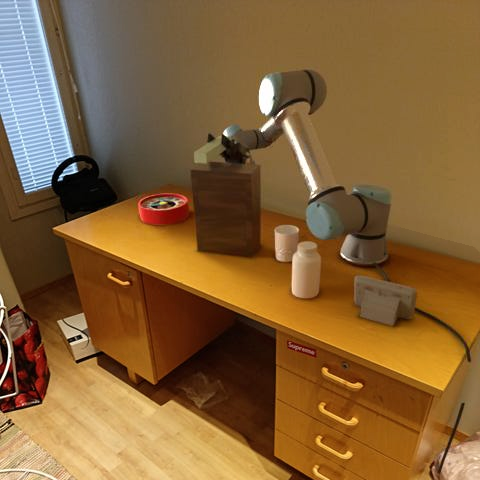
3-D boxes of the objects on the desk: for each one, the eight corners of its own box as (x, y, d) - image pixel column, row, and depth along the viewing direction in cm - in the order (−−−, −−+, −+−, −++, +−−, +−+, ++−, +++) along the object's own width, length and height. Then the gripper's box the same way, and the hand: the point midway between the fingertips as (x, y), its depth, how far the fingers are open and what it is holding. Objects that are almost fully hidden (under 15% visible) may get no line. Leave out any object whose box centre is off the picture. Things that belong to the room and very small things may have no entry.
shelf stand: (252, 258, 150) (251, 173, 134) (197, 251, 156) (190, 169, 140) (260, 245, 158) (260, 164, 142) (208, 239, 163) (202, 161, 148)
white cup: (296, 263, 146) (297, 235, 140) (272, 262, 147) (272, 233, 142) (298, 253, 152) (300, 225, 146) (275, 251, 154) (276, 224, 148)
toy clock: (192, 206, 176) (141, 213, 171) (193, 220, 179) (143, 227, 174) (182, 191, 192) (135, 196, 187) (183, 204, 195) (137, 210, 190)
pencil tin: (206, 163, 134) (206, 153, 132) (194, 162, 135) (193, 152, 133) (231, 145, 151) (230, 136, 149) (220, 145, 152) (219, 135, 150)
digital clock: (416, 318, 118) (424, 283, 112) (400, 334, 113) (408, 298, 107) (361, 297, 127) (366, 264, 121) (344, 311, 122) (349, 276, 116)
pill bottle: (300, 282, 135) (303, 236, 127) (323, 290, 131) (328, 243, 123) (285, 293, 130) (287, 246, 122) (309, 302, 126) (312, 254, 118)
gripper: (257, 171, 163) (239, 151, 140) (214, 167, 167) (189, 148, 145) (260, 149, 162) (242, 127, 140) (216, 147, 167) (192, 125, 144)
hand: (215, 138), depth 142 cm, fingers closed on pencil tin, 4 cm apart
